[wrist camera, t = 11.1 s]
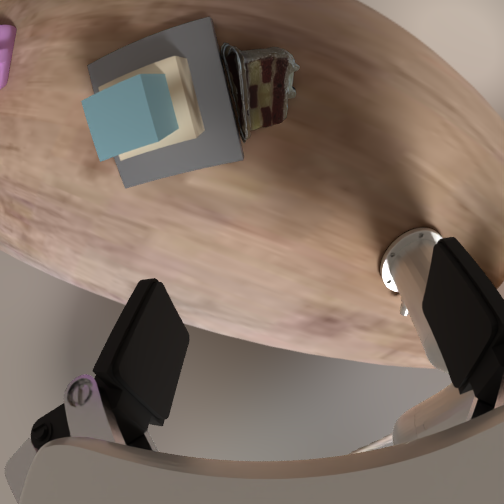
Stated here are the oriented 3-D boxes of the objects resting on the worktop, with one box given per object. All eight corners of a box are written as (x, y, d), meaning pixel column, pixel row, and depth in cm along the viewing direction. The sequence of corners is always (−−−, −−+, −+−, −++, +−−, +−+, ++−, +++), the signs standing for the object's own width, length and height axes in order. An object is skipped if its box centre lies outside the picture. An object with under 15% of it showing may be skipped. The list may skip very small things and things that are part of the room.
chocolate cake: (300, 136, 31) (325, 65, 19) (243, 149, 30) (247, 74, 19) (272, 84, 33) (283, 15, 21) (222, 94, 32) (218, 22, 20)
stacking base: (244, 156, 32) (240, 172, 27) (129, 184, 35) (110, 203, 30) (211, 19, 22) (201, 7, 17) (93, 65, 25) (66, 66, 20)
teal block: (179, 128, 25) (158, 141, 20) (128, 144, 26) (100, 161, 21) (164, 73, 22) (140, 73, 17) (113, 94, 22) (81, 101, 17)
